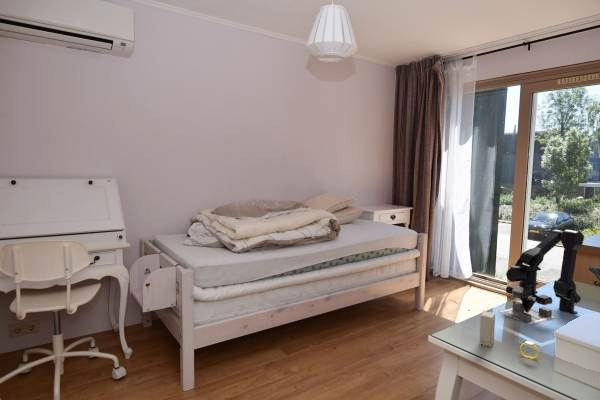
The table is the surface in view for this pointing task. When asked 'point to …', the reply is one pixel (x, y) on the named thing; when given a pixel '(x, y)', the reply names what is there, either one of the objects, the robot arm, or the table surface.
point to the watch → (529, 345)
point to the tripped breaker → (518, 306)
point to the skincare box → (487, 328)
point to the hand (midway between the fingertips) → (527, 312)
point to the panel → (530, 315)
